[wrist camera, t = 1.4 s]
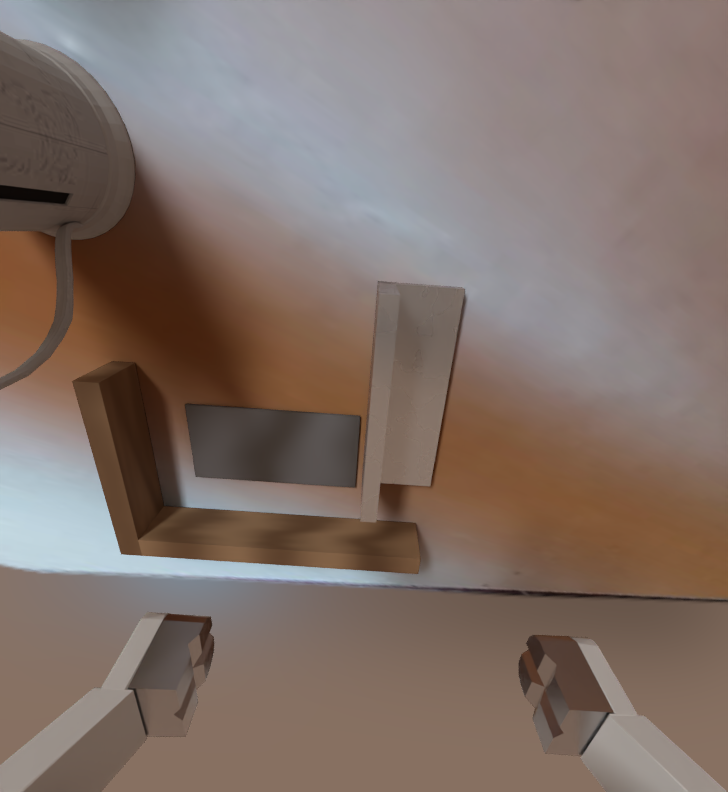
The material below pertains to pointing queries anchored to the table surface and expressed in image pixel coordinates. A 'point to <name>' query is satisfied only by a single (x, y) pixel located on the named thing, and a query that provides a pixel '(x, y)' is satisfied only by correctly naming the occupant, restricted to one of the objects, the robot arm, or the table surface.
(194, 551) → the brown wooden l-shaped piece
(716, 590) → the table surface
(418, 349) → the angle bracket
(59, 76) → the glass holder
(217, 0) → the table surface
